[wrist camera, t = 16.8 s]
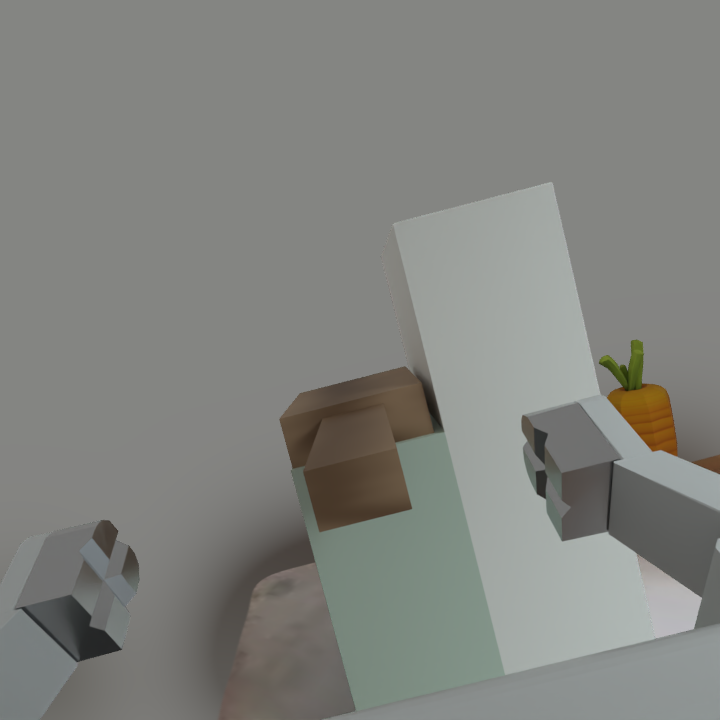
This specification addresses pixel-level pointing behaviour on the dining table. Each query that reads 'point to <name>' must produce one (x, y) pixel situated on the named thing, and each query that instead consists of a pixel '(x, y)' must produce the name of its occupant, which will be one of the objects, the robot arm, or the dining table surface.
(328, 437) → the brown block
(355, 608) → the white two-tone stepped block
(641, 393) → the carrot
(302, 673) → the dining table surface
